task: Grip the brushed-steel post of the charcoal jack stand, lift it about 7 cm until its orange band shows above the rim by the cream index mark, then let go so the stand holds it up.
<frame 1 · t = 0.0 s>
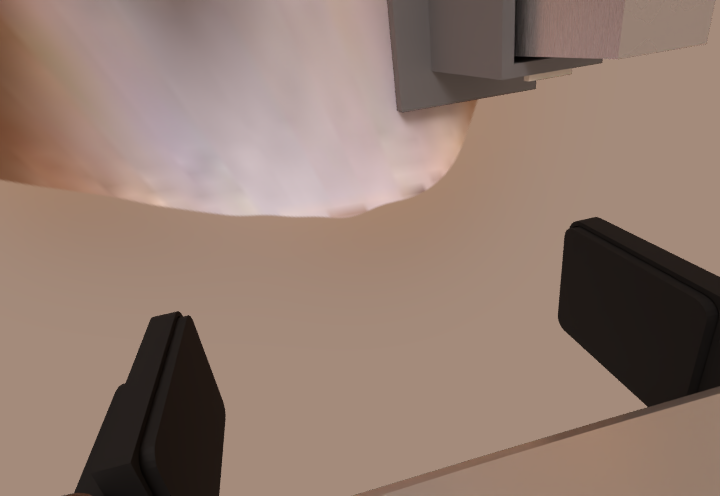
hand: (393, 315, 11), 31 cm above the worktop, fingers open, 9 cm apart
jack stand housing: (461, 21, 38), on the worktop
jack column: (538, 11, 28), point 12 cm above the worktop, slide at 0.0 cm
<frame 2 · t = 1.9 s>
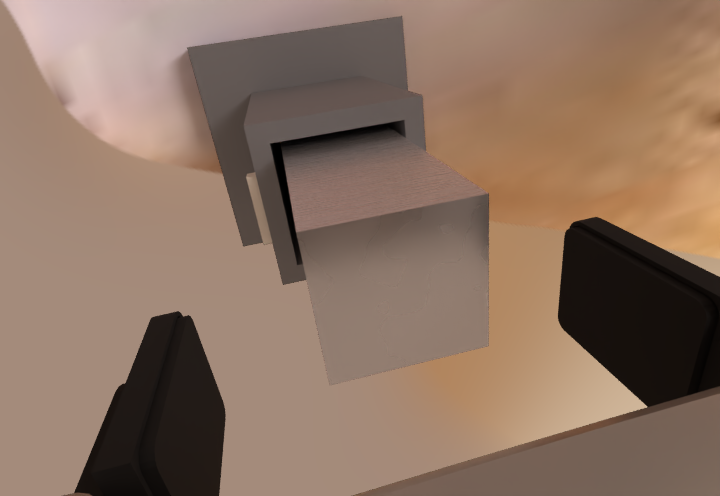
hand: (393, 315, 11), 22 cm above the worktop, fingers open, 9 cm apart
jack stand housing: (314, 135, 30), on the worktop
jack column: (341, 183, 20), point 12 cm above the worktop, slide at 0.0 cm
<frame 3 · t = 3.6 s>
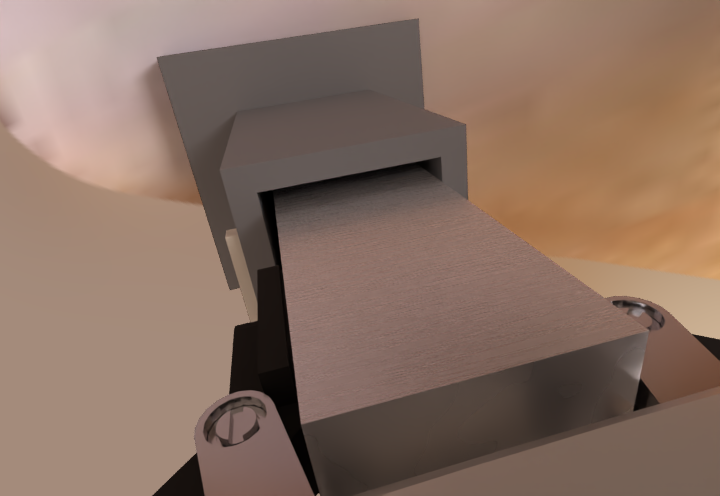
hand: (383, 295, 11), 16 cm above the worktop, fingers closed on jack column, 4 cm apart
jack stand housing: (313, 159, 25), on the worktop
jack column: (351, 234, 15), point 12 cm above the worktop, slide at 0.0 cm, touching gripper
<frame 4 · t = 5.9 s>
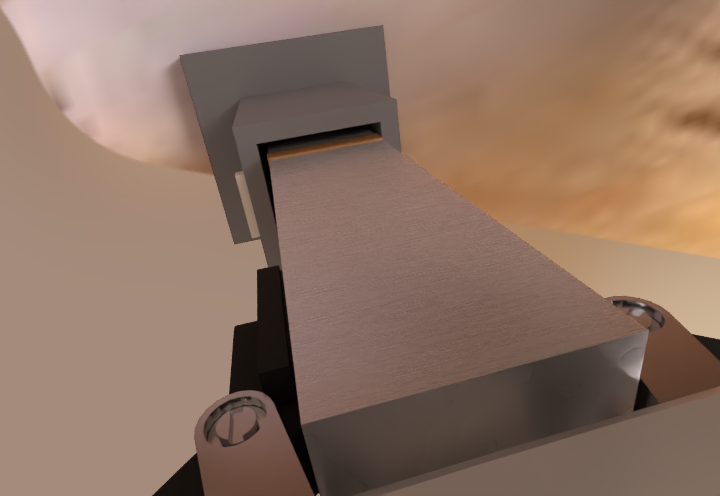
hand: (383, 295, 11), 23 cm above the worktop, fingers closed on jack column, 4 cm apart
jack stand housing: (301, 138, 32), on the worktop
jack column: (351, 234, 15), point 19 cm above the worktop, slide at 6.9 cm, touching gripper
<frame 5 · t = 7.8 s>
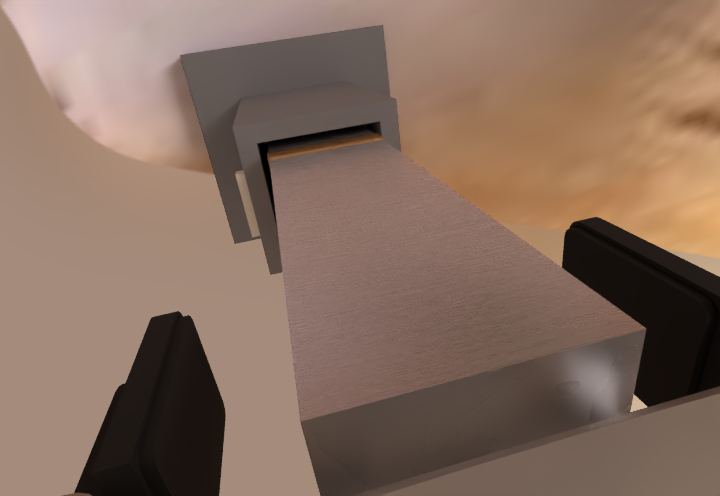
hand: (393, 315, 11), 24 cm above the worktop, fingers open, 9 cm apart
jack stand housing: (302, 137, 32), on the worktop
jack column: (351, 233, 15), point 19 cm above the worktop, slide at 6.9 cm
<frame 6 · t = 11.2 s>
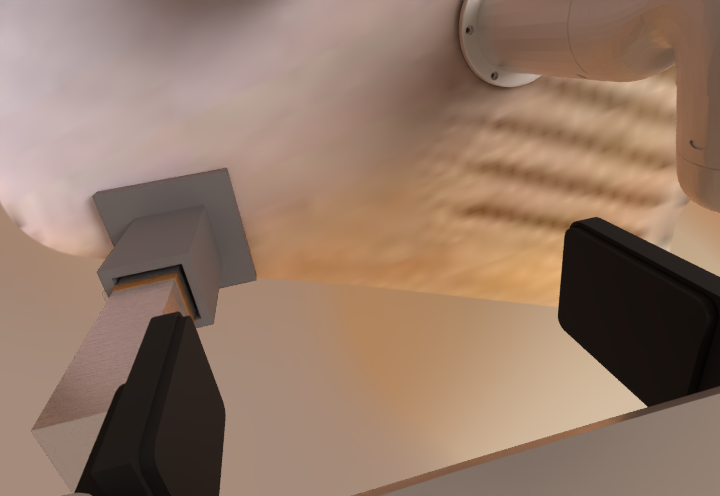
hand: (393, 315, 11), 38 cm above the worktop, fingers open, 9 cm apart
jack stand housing: (183, 236, 48), on the worktop
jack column: (144, 335, 31), point 19 cm above the worktop, slide at 6.9 cm
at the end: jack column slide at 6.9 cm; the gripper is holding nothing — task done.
